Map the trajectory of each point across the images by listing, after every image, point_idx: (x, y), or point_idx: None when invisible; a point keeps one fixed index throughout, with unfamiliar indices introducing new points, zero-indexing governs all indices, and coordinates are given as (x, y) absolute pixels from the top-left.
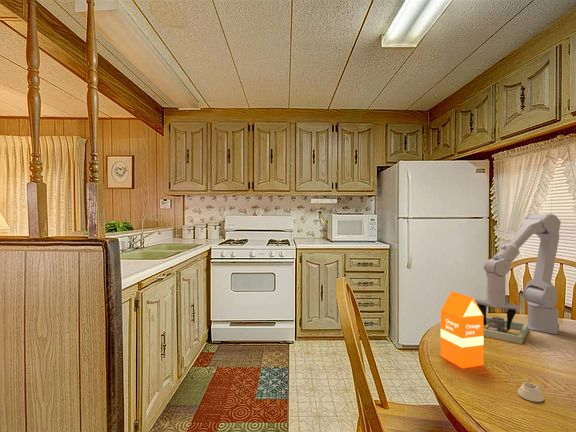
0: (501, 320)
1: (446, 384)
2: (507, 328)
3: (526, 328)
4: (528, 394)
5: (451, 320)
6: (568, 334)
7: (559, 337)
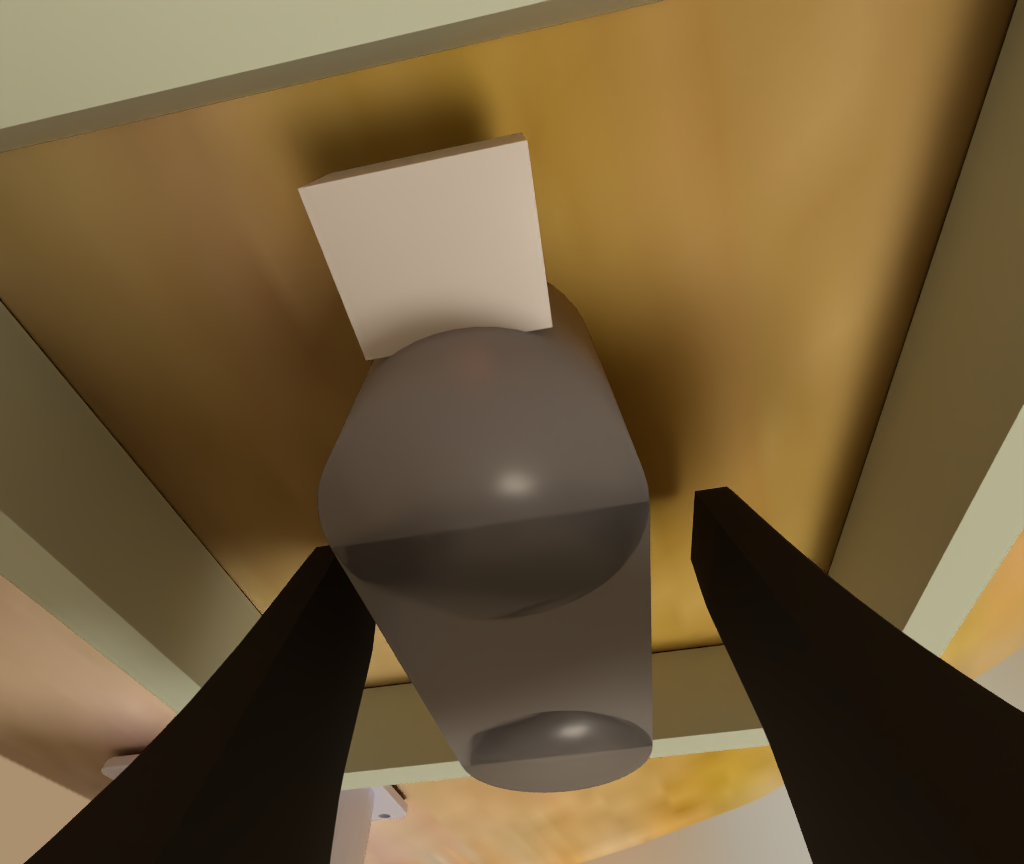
0: (461, 714)
1: None
2: (321, 563)
3: (183, 704)
4: None
5: None
6: (96, 792)
7: (40, 723)
